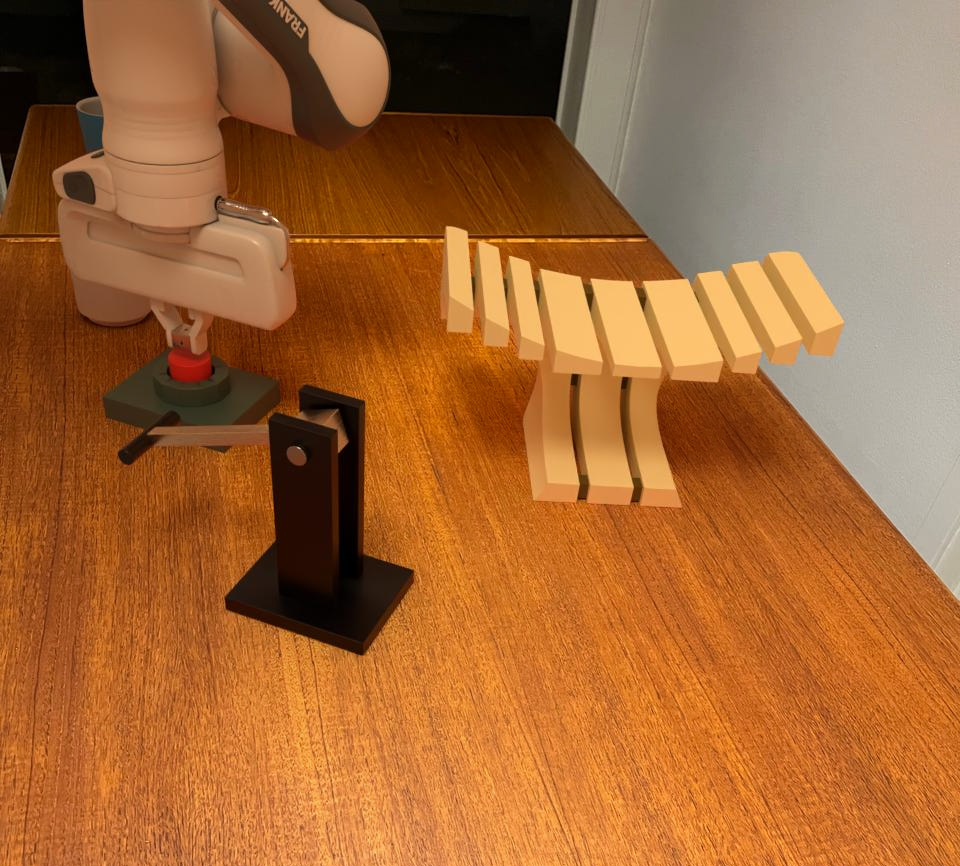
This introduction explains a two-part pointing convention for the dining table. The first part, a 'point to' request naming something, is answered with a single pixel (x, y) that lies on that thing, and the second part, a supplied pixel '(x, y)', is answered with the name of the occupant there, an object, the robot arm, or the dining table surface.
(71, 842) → the dining table surface
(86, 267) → the robot arm
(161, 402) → the box
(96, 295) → the can
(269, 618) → the bracket
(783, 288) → the slatted curved stool
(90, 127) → the cup
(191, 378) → the button
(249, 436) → the lever
